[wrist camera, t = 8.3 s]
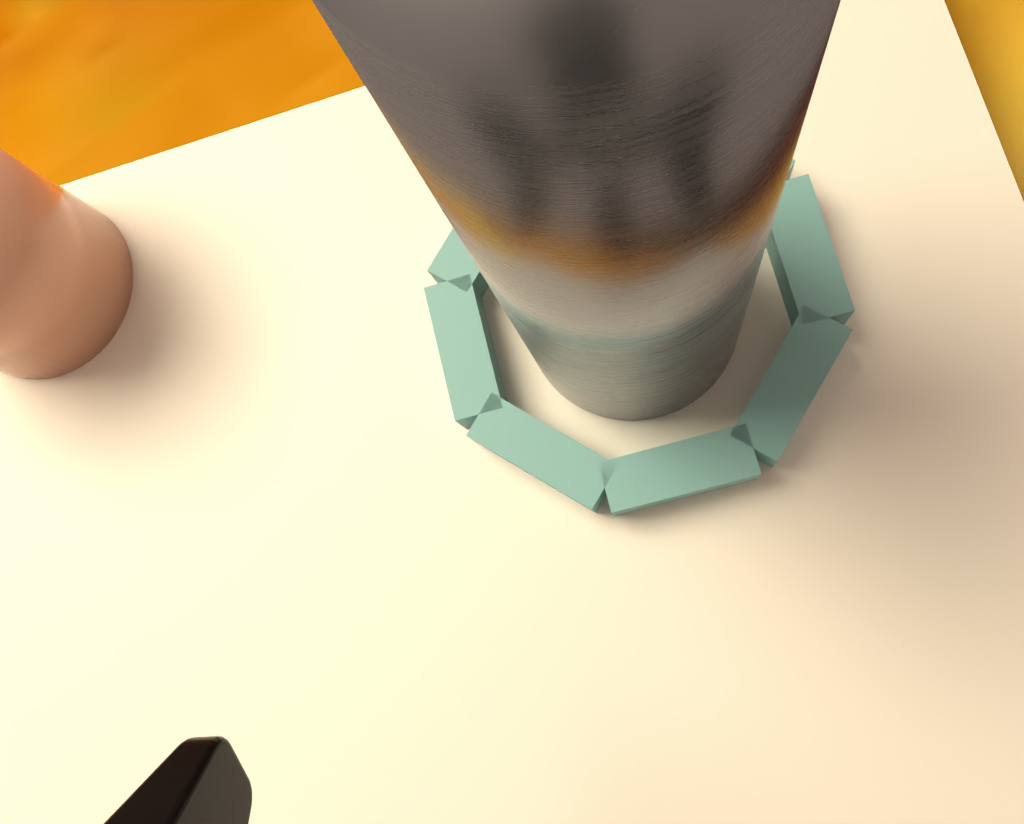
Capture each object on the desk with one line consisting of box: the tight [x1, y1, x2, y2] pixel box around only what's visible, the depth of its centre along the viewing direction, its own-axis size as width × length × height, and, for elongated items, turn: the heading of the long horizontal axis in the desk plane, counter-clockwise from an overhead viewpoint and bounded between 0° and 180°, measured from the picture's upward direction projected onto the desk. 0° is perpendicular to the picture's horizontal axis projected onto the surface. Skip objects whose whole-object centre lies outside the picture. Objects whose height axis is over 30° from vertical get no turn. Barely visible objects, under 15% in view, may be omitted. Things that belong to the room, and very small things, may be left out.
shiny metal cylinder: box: [312, 0, 841, 421], centre depth 12 cm, size 4×4×13 cm
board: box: [0, 0, 1024, 824], centre depth 19 cm, size 24×24×3 cm
